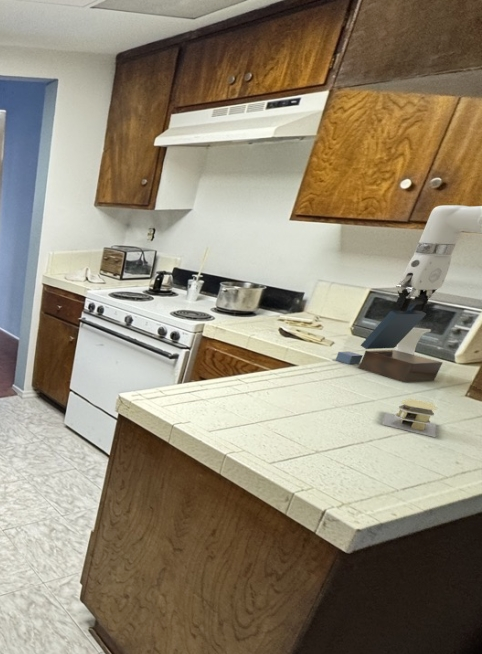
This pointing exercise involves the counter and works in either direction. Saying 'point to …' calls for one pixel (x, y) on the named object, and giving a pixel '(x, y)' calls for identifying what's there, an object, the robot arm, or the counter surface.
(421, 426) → the stacked layers on plate
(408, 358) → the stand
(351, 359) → the grey-blue packet
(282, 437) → the counter surface
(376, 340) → the blue slab
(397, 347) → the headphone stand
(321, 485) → the counter surface
